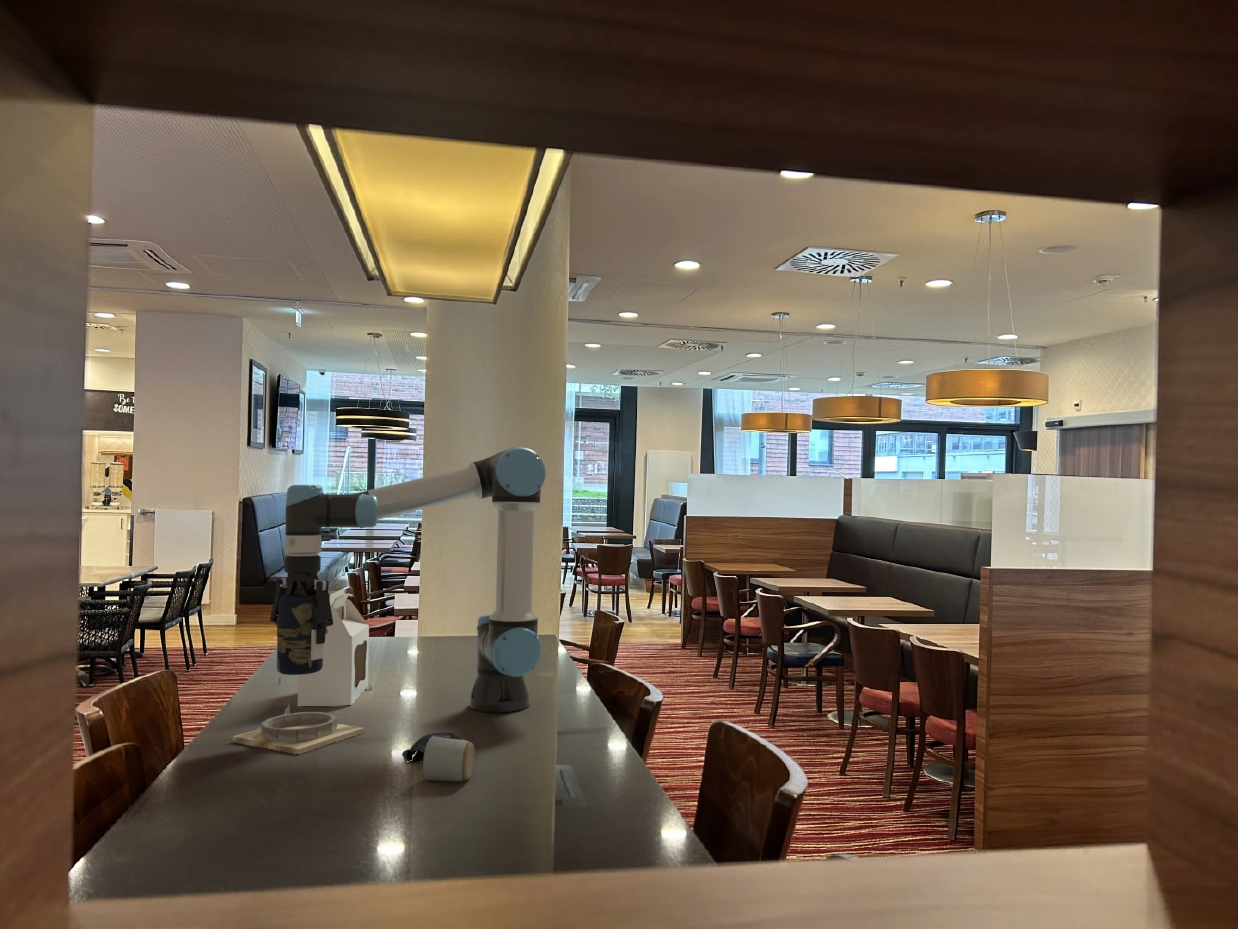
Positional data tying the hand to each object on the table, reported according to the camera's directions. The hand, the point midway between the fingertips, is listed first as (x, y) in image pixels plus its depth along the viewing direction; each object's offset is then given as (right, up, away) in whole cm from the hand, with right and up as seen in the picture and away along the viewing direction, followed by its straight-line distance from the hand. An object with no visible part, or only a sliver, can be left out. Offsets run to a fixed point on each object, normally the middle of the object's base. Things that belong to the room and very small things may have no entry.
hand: (300, 656), depth 181 cm
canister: (0, -4, 0) cm, 4 cm away
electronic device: (+32, -17, -12) cm, 39 cm away
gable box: (-6, -20, +38) cm, 43 cm away
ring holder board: (0, -17, -1) cm, 17 cm away
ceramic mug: (+39, -16, -27) cm, 50 cm away
